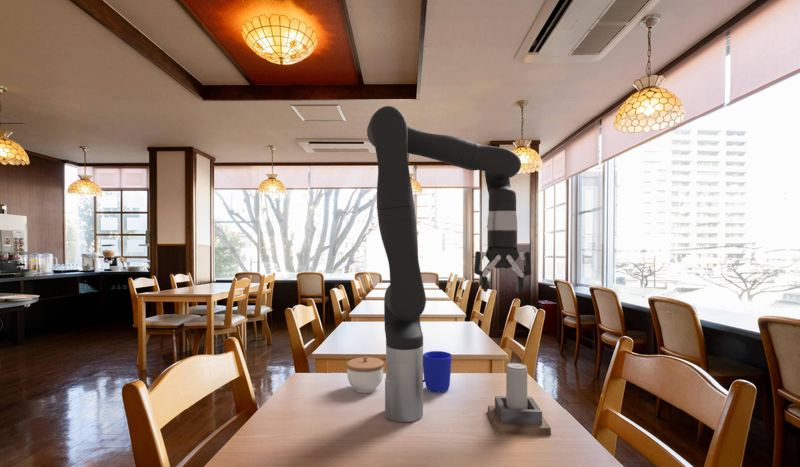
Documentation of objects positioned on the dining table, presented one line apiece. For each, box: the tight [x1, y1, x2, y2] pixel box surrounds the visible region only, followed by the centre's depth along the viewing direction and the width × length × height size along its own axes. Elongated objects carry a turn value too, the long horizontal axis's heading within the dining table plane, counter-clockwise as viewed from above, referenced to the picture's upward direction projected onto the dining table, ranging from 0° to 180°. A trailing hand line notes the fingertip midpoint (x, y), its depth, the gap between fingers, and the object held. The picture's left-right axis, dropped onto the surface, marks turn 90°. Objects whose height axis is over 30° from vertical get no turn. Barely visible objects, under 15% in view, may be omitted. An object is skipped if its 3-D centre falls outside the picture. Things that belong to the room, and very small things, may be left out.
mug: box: [423, 350, 453, 393], centre depth 122 cm, size 8×12×10 cm
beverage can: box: [505, 362, 528, 409], centre depth 100 cm, size 5×5×12 cm
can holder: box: [487, 395, 552, 436], centre depth 100 cm, size 12×12×4 cm
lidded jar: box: [346, 355, 385, 394], centre depth 122 cm, size 11×11×9 cm
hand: (502, 291), depth 109 cm, fingers open, 8 cm apart
